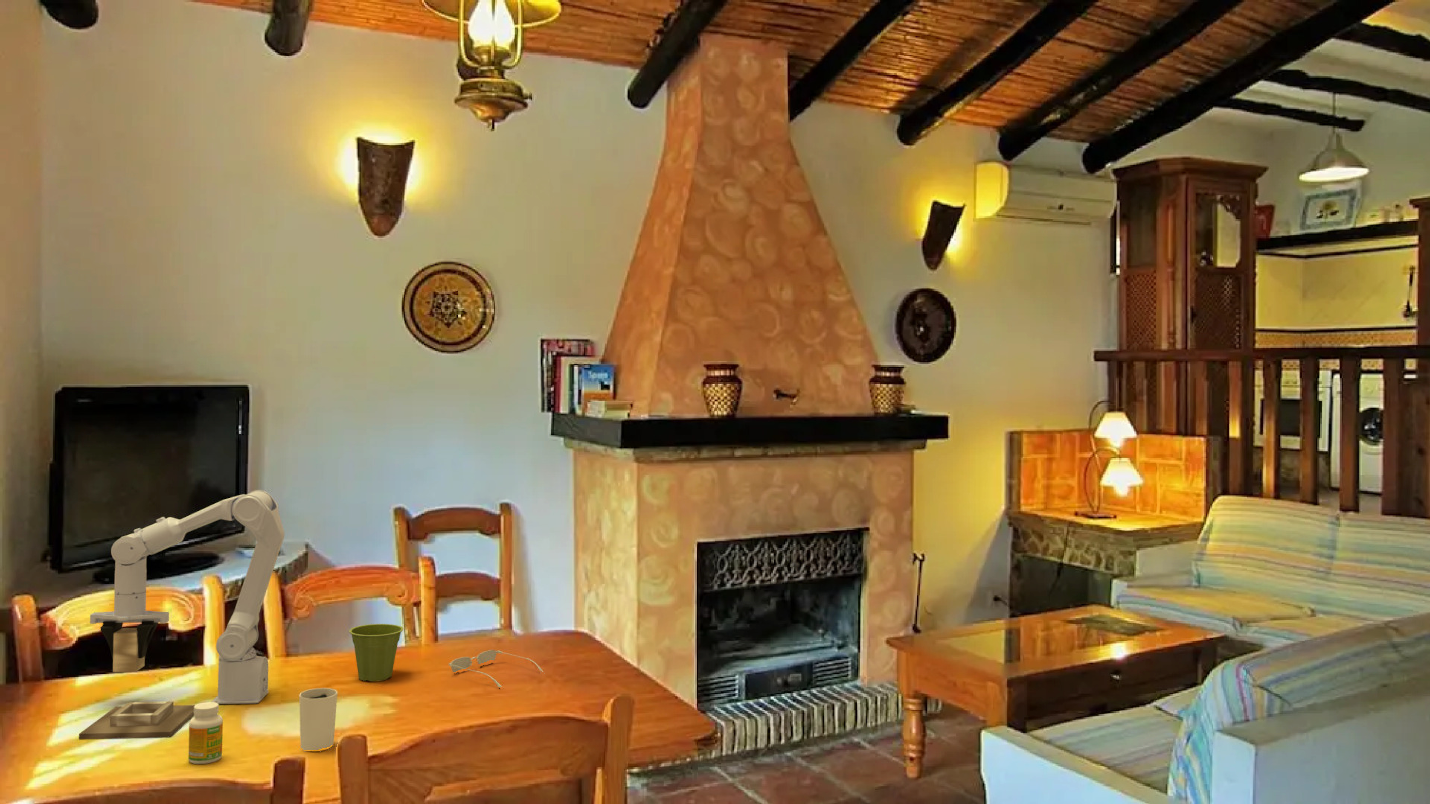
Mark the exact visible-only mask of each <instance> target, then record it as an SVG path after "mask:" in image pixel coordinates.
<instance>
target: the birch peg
mask: <svg viewBox="0 0 1430 804" xmlns="http://www.w3.org/2000/svg"><path fill="white" fill-rule="evenodd" d="M138 644H139V642H138V633H137V627H122V629H120V630H119V631H117V632H115V633H114V643H113V659H112V673H133V672H134V673H135V672H138V671H139V670H140V669H142V668H143V667H145V662H146V661H145V659H146V656H145V657H143V658H138Z"/></svg>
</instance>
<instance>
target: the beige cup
mask: <svg viewBox="0 0 1430 804" xmlns="http://www.w3.org/2000/svg"><path fill="white" fill-rule="evenodd" d="M298 697H299V734H300V735H299V736H300V739H299V740H300V742H299V743H300V749H301V748H302V749H303V750H319V749H322V748H327V747H330V746H331V745H333V743H334V744H335V730H336V729H335V728H336V716H337V715H336V714H337V702H338V691H337V690H336V689H334V688H330V687H320V688H319V687H316V688H310V689H306V690H303V691H301V692H300V693H299V695H298ZM333 746H334V745H333Z"/></svg>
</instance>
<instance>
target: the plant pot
mask: <svg viewBox="0 0 1430 804" xmlns="http://www.w3.org/2000/svg"><path fill="white" fill-rule="evenodd" d="M403 631H404V627H403V626H401V625H397V624H392V623H371V624H363V625H357V626H353V627H351V628H350V629H349V631H348V632H349V634H351V639H352V644H353V645H354V646H353V647H354V654H355V661H356V667H357V675H358V679H359V680H361V681H362V680H363V682H364V681H365V682H366V681H369V682H372V681H377V682H380V681H381V682H383V681H386V680H388V679H389V678H391V677H392V675H393V670H394V664H395V660H396V655H397V649H398V645H399V641H400V638H401V633H402V632H403Z"/></svg>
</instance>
